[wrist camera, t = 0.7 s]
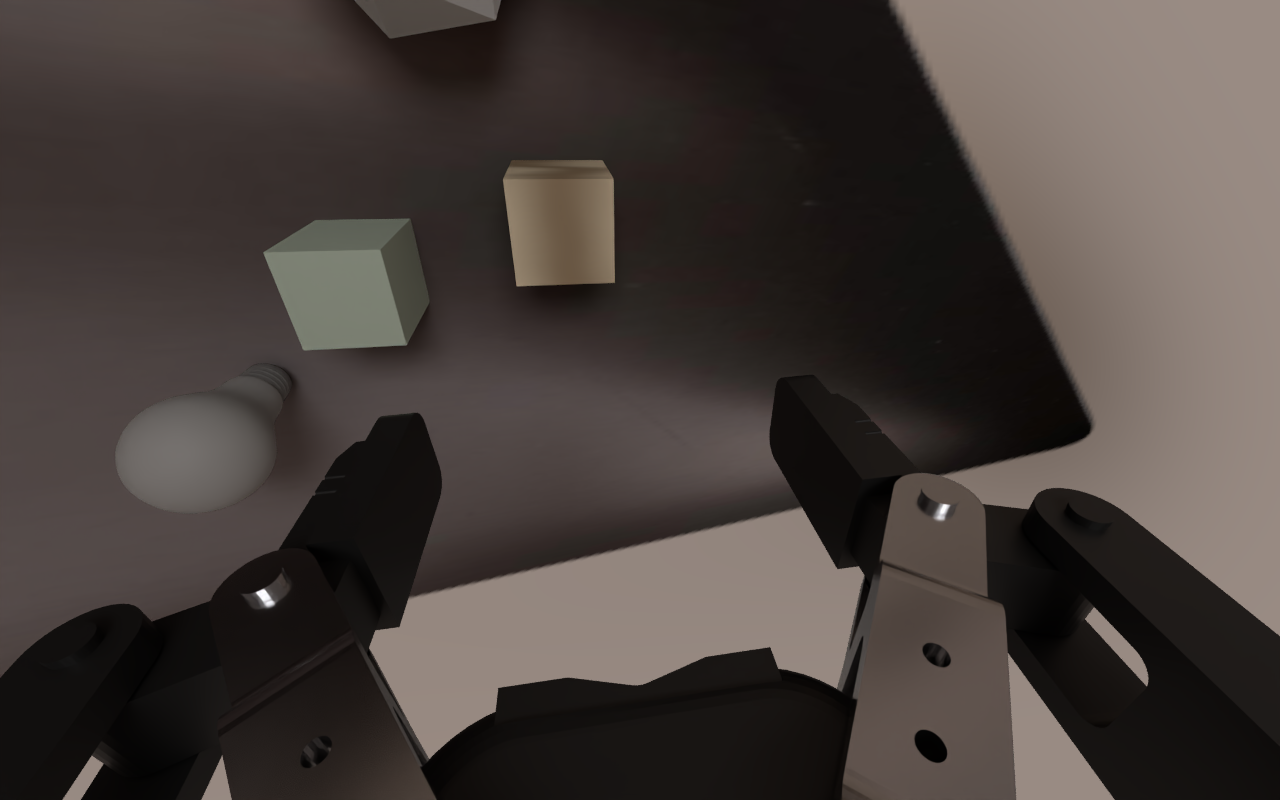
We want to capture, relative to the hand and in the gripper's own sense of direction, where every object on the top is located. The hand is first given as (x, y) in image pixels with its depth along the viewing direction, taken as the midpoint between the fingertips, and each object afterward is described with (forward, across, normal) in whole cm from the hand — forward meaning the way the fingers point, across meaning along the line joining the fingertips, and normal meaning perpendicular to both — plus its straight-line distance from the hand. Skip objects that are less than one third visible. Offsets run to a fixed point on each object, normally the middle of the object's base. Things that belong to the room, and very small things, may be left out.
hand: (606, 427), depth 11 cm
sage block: (+21, +12, +2) cm, 25 cm away
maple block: (+21, +1, -1) cm, 21 cm away
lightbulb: (+21, +21, +8) cm, 31 cm away
